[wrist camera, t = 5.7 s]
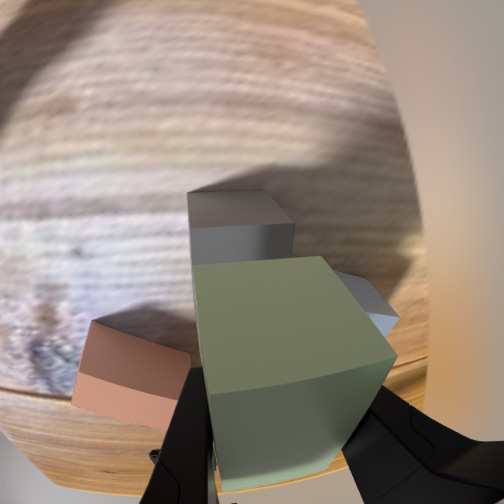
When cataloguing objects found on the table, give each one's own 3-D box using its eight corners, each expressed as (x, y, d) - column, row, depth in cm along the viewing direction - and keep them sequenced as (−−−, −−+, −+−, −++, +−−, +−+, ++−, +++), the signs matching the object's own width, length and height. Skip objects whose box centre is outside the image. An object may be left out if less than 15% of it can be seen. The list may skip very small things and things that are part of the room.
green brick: (292, 389, 12) (325, 470, 8) (206, 401, 11) (222, 491, 7) (321, 255, 9) (398, 355, 5) (192, 265, 8) (209, 394, 4)
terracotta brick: (189, 352, 18) (195, 404, 15) (168, 382, 19) (171, 431, 16) (91, 318, 15) (78, 372, 12) (80, 355, 16) (70, 404, 13)
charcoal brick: (258, 299, 17) (277, 350, 14) (194, 305, 16) (200, 359, 13) (265, 188, 14) (294, 223, 10) (187, 191, 13) (189, 228, 10)
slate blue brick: (318, 350, 21) (340, 392, 17) (275, 346, 19) (293, 393, 16) (365, 278, 18) (400, 317, 15) (321, 265, 17) (354, 309, 13)
